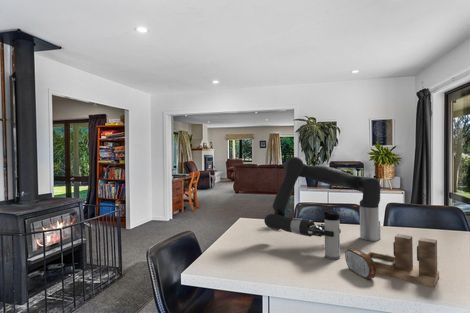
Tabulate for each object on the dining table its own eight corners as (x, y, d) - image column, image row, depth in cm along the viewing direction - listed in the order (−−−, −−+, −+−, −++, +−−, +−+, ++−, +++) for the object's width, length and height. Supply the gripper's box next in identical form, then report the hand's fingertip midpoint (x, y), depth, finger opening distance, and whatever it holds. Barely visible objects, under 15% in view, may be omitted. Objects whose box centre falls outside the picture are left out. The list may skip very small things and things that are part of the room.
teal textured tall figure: (289, 232, 172) (302, 193, 173) (273, 225, 174) (286, 188, 175) (289, 229, 186) (301, 193, 187) (274, 223, 188) (286, 188, 189)
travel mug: (321, 254, 126) (321, 210, 126) (336, 254, 127) (335, 210, 127) (327, 260, 120) (327, 213, 120) (342, 259, 120) (341, 212, 120)
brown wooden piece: (361, 268, 110) (360, 233, 110) (370, 261, 118) (369, 227, 118) (434, 287, 94) (433, 245, 94) (439, 276, 102) (438, 238, 102)
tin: (377, 282, 98) (376, 258, 98) (369, 283, 97) (369, 258, 97) (350, 266, 113) (350, 245, 113) (343, 267, 112) (343, 245, 112)
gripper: (294, 221, 128) (329, 227, 116) (309, 216, 138) (343, 221, 127) (294, 238, 128) (330, 245, 116) (309, 231, 138) (343, 238, 127)
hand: (336, 232), depth 122 cm, fingers closed on travel mug, 6 cm apart
